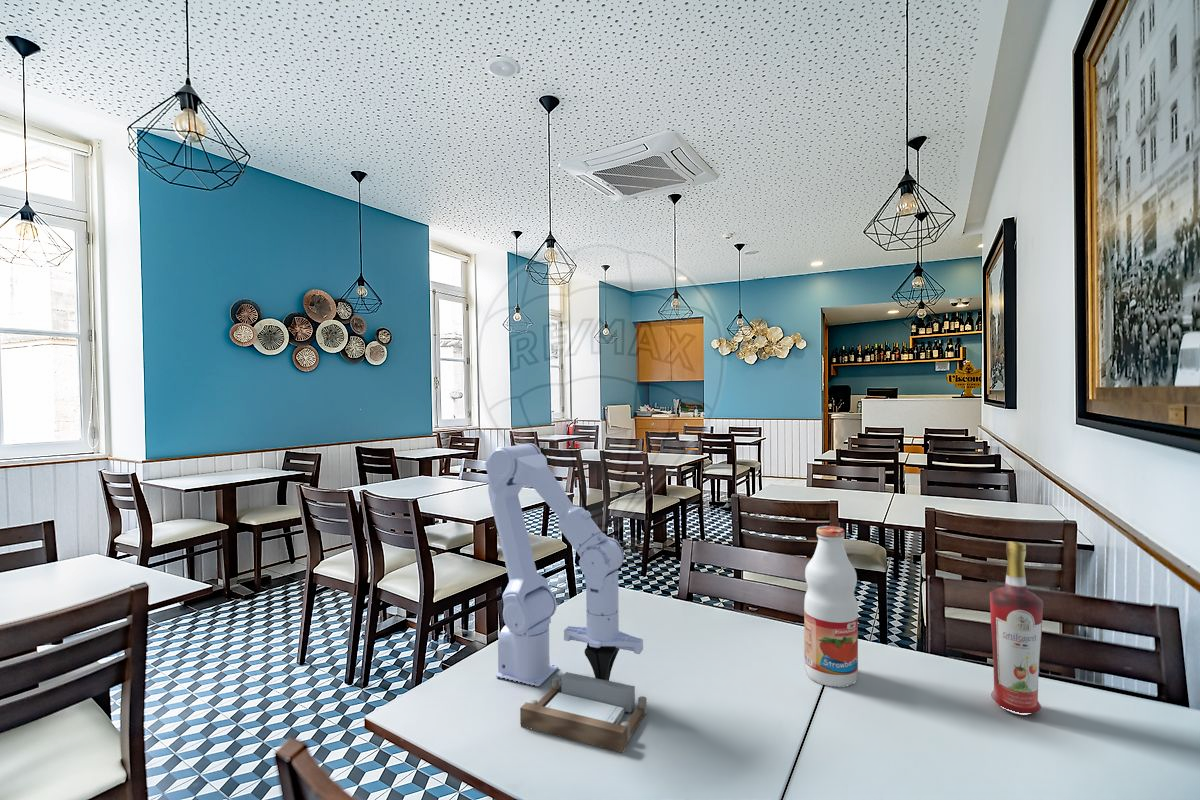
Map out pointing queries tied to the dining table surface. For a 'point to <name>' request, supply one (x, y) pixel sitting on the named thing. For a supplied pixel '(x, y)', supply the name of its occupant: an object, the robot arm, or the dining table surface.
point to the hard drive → (587, 708)
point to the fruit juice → (831, 612)
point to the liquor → (1016, 637)
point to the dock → (580, 722)
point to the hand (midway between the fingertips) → (603, 685)
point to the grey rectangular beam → (599, 690)
